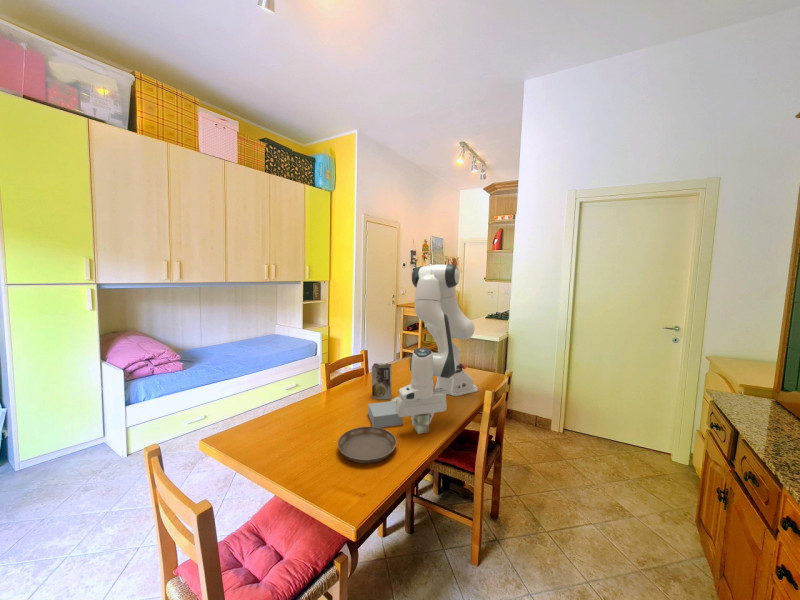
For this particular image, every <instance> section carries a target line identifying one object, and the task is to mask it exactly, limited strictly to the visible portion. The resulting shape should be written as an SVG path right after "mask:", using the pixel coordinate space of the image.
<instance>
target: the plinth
mask: <svg viewBox="0 0 800 600" xmlns="http://www.w3.org/2000/svg"><path fill="white" fill-rule="evenodd" d="M367 405H368V407H367V409H368V411H367V413H368V414H367V415H368V418H369V420H370V423H371V426H372V427H378V428H382V429H384V428H389V427H395V426H403V421H404V420H403V418H404V417H399V416H398V414H397V412H396V405H397V401H391V400H390V401H382V402H373V403H368V404H367Z"/></svg>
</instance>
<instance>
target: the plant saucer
mask: <svg viewBox="0 0 800 600" xmlns="http://www.w3.org/2000/svg"><path fill="white" fill-rule="evenodd" d="M396 446H397V439H396V436H395V435H394V434H393V433H392V432H391V431H389V430H386V429H384V428H378V427H373V426H360V427H356V428H353V429H350V430H348V431H346V432H345V433H343V434H342V435H341V436H339V438H338V441H337V448H338V450H339V451H340V453H341V454H342V455H343V456H344V457H345V458H346V459H348V460H350V461H352V462H355V463H357V464H358V463H359V464H373V463H377V462H380V461H383V460H384V459H386V458H387V457H389V456H390V455H391V454H392V453H393V451H394V450H395V448H396Z"/></svg>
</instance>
